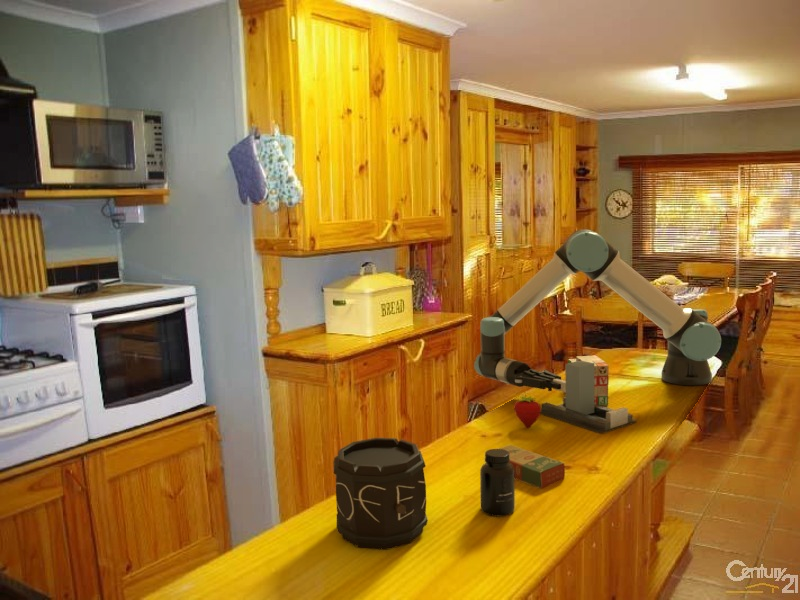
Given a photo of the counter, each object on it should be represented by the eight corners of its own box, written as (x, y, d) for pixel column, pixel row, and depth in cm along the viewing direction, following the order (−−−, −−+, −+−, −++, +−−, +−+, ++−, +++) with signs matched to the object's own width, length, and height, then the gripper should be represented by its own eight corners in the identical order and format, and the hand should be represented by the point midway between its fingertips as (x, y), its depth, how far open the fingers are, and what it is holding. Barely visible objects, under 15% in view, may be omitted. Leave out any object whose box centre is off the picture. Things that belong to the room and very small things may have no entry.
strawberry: (532, 433, 187) (532, 396, 185) (509, 427, 192) (508, 391, 191) (545, 428, 191) (545, 391, 189) (523, 422, 196) (522, 387, 195)
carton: (511, 460, 170) (511, 443, 170) (565, 480, 158) (565, 461, 157) (486, 469, 165) (486, 452, 165) (541, 490, 153) (541, 471, 152)
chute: (571, 403, 212) (571, 388, 211) (636, 422, 193) (636, 405, 192) (537, 413, 204) (537, 397, 203) (601, 433, 185) (601, 416, 184)
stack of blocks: (568, 387, 229) (568, 349, 227) (587, 386, 229) (587, 348, 227) (587, 406, 208) (587, 365, 206) (608, 405, 208) (608, 364, 206)
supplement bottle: (506, 520, 139) (505, 461, 138) (475, 513, 143) (473, 455, 141) (520, 506, 145) (519, 449, 143) (489, 499, 149) (488, 444, 147)
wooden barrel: (354, 563, 126) (350, 478, 123) (323, 521, 142) (319, 446, 139) (446, 539, 133) (443, 458, 130) (406, 503, 149) (403, 430, 146)
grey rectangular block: (580, 408, 203) (580, 360, 201) (594, 412, 199) (594, 363, 197) (565, 412, 200) (565, 364, 198) (579, 417, 196) (579, 367, 194)
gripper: (529, 380, 224) (587, 396, 205) (498, 388, 217) (555, 405, 198) (529, 357, 223) (587, 371, 204) (497, 364, 216) (554, 379, 197)
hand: (571, 388), depth 201 cm, fingers closed
